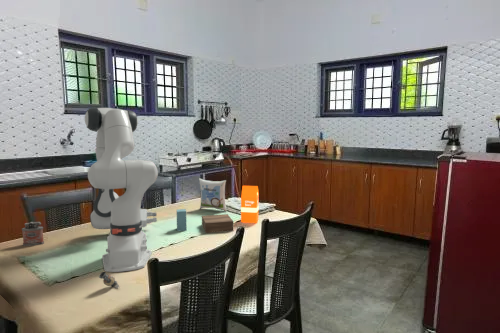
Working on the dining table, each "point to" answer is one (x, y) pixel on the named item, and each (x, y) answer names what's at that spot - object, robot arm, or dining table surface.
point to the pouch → (212, 194)
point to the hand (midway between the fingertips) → (156, 216)
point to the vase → (109, 280)
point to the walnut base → (217, 223)
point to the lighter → (32, 234)
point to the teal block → (181, 220)
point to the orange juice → (249, 204)
